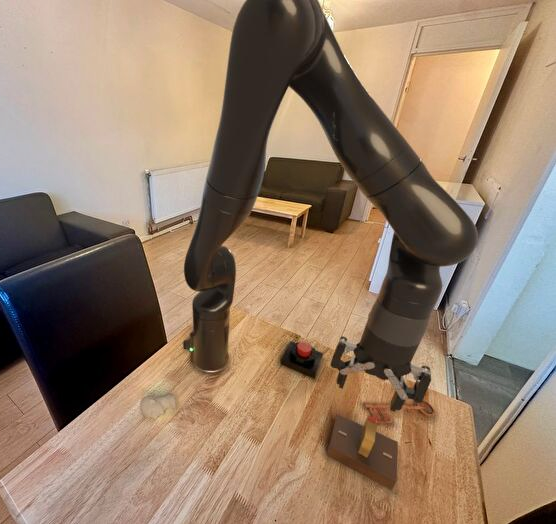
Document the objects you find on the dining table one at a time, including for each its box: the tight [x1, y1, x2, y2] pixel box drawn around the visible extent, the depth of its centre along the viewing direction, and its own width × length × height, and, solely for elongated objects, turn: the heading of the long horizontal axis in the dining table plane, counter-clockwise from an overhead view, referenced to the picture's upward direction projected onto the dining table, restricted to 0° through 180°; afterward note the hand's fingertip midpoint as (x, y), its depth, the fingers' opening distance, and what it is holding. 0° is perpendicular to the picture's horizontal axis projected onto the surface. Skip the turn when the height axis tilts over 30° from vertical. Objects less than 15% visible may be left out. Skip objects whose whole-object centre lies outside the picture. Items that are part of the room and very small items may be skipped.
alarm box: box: [280, 340, 324, 380], centre depth 76 cm, size 9×8×4 cm
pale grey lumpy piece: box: [139, 392, 177, 420], centre depth 63 cm, size 4×8×5 cm
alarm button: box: [296, 341, 312, 357], centre depth 75 cm, size 4×4×2 cm
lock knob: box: [358, 414, 378, 457], centre depth 53 cm, size 5×2×5 cm, turn 147°
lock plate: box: [326, 413, 399, 491], centre depth 55 cm, size 11×8×3 cm
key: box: [363, 399, 436, 424], centre depth 64 cm, size 6×1×15 cm
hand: (366, 395), depth 53 cm, fingers open, 8 cm apart
